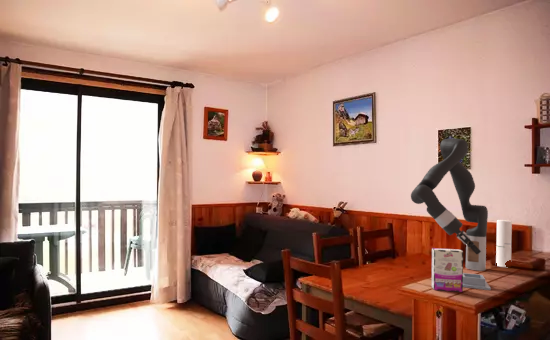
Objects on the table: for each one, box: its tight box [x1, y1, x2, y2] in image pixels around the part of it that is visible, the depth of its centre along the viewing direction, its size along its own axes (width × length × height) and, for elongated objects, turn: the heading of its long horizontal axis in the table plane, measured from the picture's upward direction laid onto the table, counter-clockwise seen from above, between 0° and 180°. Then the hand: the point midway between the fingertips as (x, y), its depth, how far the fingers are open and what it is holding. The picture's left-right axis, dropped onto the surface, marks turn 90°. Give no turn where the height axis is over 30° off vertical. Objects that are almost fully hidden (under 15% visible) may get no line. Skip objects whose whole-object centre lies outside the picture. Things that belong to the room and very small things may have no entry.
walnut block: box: [467, 241, 479, 262], centre depth 169 cm, size 4×4×8 cm
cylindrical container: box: [495, 219, 513, 268], centre depth 215 cm, size 7×7×25 cm
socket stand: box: [463, 272, 491, 291], centre depth 168 cm, size 12×12×4 cm
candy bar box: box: [431, 247, 464, 293], centre depth 159 cm, size 11×5×16 cm, turn 80°
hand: (478, 252), depth 168 cm, fingers closed on walnut block, 4 cm apart
